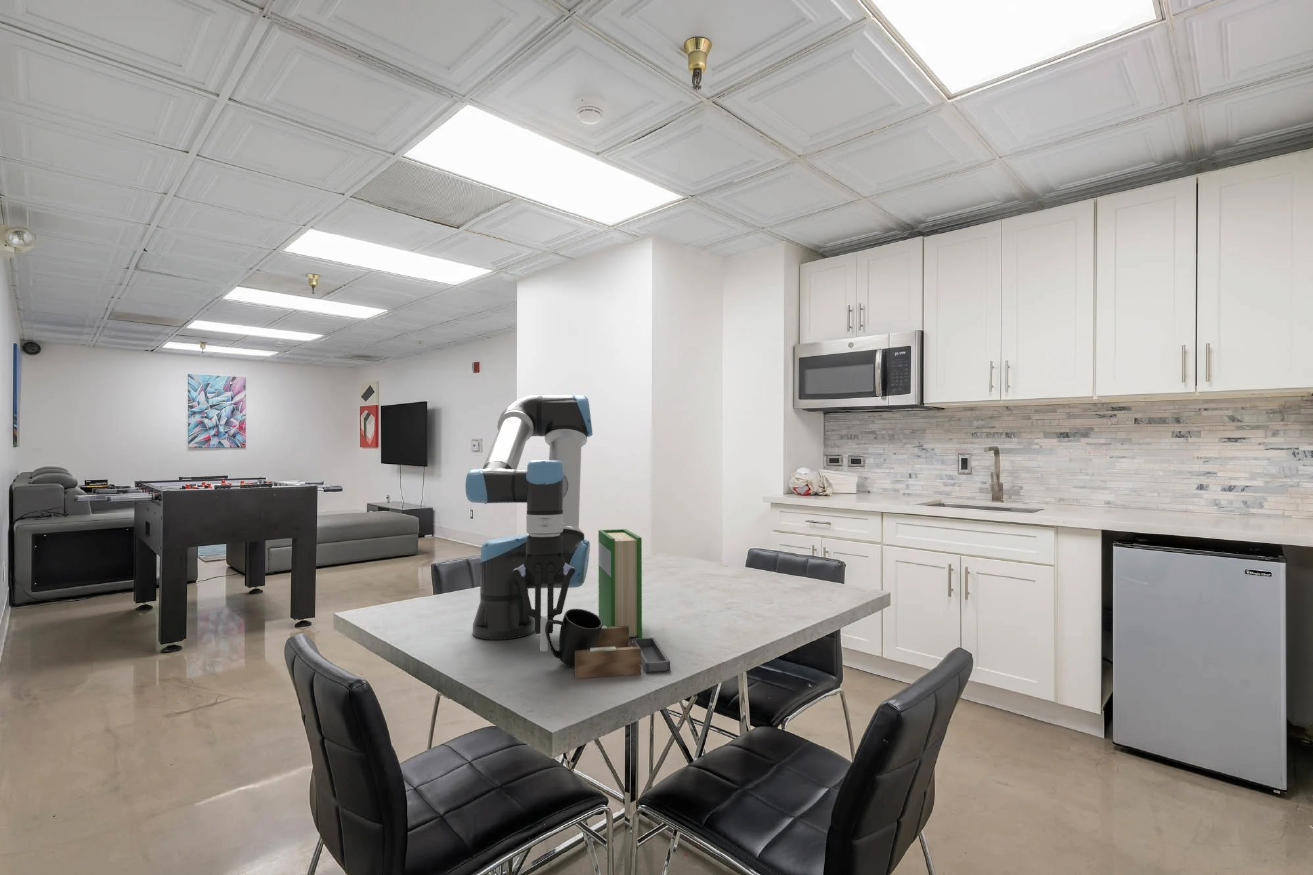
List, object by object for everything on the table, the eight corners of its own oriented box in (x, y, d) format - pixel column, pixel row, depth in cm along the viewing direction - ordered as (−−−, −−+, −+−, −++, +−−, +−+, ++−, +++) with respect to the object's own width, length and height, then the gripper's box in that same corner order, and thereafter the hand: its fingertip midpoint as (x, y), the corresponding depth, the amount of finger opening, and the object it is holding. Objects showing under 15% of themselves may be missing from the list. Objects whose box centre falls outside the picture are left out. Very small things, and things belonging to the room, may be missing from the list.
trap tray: (645, 673, 125) (645, 663, 125) (632, 647, 141) (632, 638, 141) (670, 671, 126) (670, 661, 126) (654, 646, 142) (654, 637, 142)
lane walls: (575, 678, 122) (575, 651, 122) (570, 651, 139) (570, 627, 139) (641, 673, 124) (640, 647, 124) (628, 647, 141) (627, 624, 141)
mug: (530, 647, 130) (542, 606, 129) (582, 648, 136) (594, 609, 135) (541, 671, 123) (554, 627, 122) (596, 671, 129) (609, 629, 128)
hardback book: (641, 639, 148) (641, 537, 148) (611, 641, 146) (610, 538, 146) (626, 620, 165) (626, 529, 165) (598, 622, 163) (598, 530, 163)
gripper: (511, 537, 125) (510, 656, 124) (577, 535, 127) (576, 653, 126) (513, 532, 132) (512, 645, 131) (575, 531, 134) (574, 642, 134)
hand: (543, 649), depth 129 cm, fingers closed
